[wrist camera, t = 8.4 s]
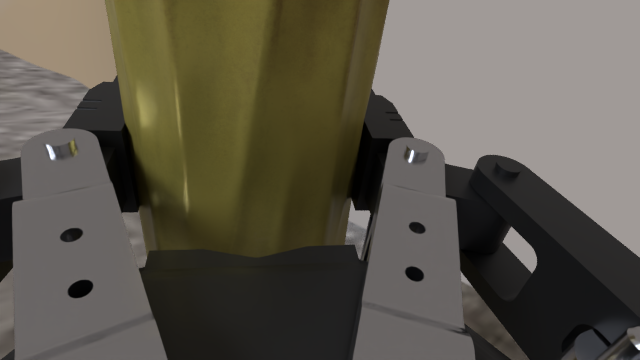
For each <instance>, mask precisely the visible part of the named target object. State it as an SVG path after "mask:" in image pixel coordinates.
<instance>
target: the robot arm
mask: <svg viewBox="0 0 640 360" xmlns="http://www.w3.org/2000/svg"><path fill="white" fill-rule="evenodd" d="M444 160H445V159H444V155H443V153H442V152H441V151H440V150H439V149H438V148H437V147H436V146H434V145H433V144H431V143H429V142H426V141H423V140H420V139H416V138H414V137H413V135H412V133H411V132H410V130H409V129H408V127H407V126H406V124H405V122H404V121H403V119H402V118H401V116H400V115H399V114H398V111H397V110H396V108H395V107H394V105H393V103H391V102H390V101H388V100H387V99H386V98H384V97H383V96H381V95H375V93H374V92H373V90H372V88H371V92H370V97H369V101H368V105H367V110H366V114H365V118H364V123H363V129H362V135H361V141H360V148H359V154H358V160H357V167H356V172H355V178H354V184H353V190H352V196H351V198H352V201H353V204H354V208H355V210H369V211H370V213H371V215H370V218H369V222H368V226H367V230H366V235H365V240H364V245H363V249H362V254H361V259H360V260H359V258H358V255H357V252H356V248H355V245H327V246H306V247H302V248H297V249H293V250H289V251H285V252H281V253H276V254H272V255H268V256H264V257H248V256H242V255H236V254H230V253H224V252H218V251H212V250H206V249H187V250H152V251H149V253H148V257H147V261H146V265H145V267H143V268H139V269H138V266H137V262H136V259H135V256H134V253H133V249H132V246H131V243H130V239H129V236H128V233H127V230H126V226H125V223H124V220H123V217H122V212H138V210H139V207H140V203H139V197H138V191H137V185H136V180H135V174H134V169H133V163H132V158H131V152H130V147H129V142H128V137H127V131H126V126H125V120H124V114H123V108H122V101H121V95H120V88H119V82H118V76H116V78H115V80H114V81H113V82H102V83H100V84H99V85H97V86H95V87H93V88H92V89H90V90H89V91H88V92H87V94H86V95H85V97H84V98H83V101H81V102H80V104H79V105H78V107H77V109H76V110H75V111H74V113H73V114H72V115H71V117H70V118H69V120H68V121H67V123H66V124H65V126H64V127H63V128H62V129H57V130H51V131H48V132H44V133H41V134H39V135H36V136H34V137H32V138H31V139H29V140H28V141H27V142H25V143H24V145H23V146H22V148H21V157H19V158H15V159H9V160H2V161H0V282H1V281H2V280H3V279H4V277H5V276H6V275H7V274H8V273H9V272H10V270H11V269H12V268H13V281H14V333H15V349H14V350H13V351H11V352H10V353H9V354H8V355H6V356H5V357H4V358H2V359H1V360H511V359H509V358H508V357H507V356H505V355H504V354H503V353H502V352H500V351H499V350H498V349H496V348H495V347H494V346H493V345H491V344H490V343H489V342H487V341H486V340H485V339H483V338H482V337H481V336H480V335H478V334H477V333H476V332H474V331H473V330H472V329H471V328H469V327H468V326H467V325H465V324H464V320H463V304H462V288H461V273H460V271H461V272H462V273H463V275H464V276H465V277H466V278H467V280H468V281H469V282H470V284H471V285H472V286H473V287H474V289H475V290H476V291H477V293H478V294H479V295H480V296H481V298H482V299H483V300H484V302H485V303H486V304H487V305H488V307H489V308H490V309H491V311H492V312H493V313H494V314H495V316H496V317H497V318H498V319H499V321H500V322H501V323H502V325H503V326H504V327H505V328H506V330H507V331H508V332H509V334H510V335H511V336H512V337H513V339H514V340H515V341H516V343H517V344H518V345H519V346H520V348H521V349H522V350H523V351H524V353H525V354H526V355H527V357H528V358H529V359H530V360H640V258H639V257H638V256H637V255H636V254H634V253H633V252H632V251H631V250H629V249H628V248H627V247H626V246H624V245H623V244H622V243H621V242H619V241H618V240H617V239H616V238H614V237H613V236H612V235H611V234H609V233H608V232H607V231H606V230H604V229H603V228H602V227H601V226H599V225H598V224H597V223H596V222H594V221H593V220H592V219H591V218H589V217H588V216H587V215H586V214H584V213H583V212H582V211H581V210H580V209H578V208H577V207H576V206H574V205H573V204H572V203H571V202H570V201H568V200H567V199H566V198H564V197H563V196H562V195H561V194H560V193H558V192H557V191H556V190H555V189H553V188H552V187H551V186H550V185H548V184H547V183H546V182H545V181H543V180H542V179H541V178H540V177H538V176H537V175H536V174H535V173H533V172H532V171H531V170H530V169H528V168H527V167H526V166H524V165H523V164H521V163H519V162H517V161H515V160H513V159H510V158H507V157H503V156H498V155H486V156H483V157H481V158H479V160H478V162H477V164H476V166H475V168H474V170H472V169H466V168H462V167H457V166H453V165H449V164H445V161H444ZM511 226H512V227H513V228H514V229H515V230H516V231H517V232H518V233H519V234H520V235H521V236H522V237H523V238H524V239H525V240H526V241H527V242H528V243H529V244H530V245H531V246H532V248H533V249H534V251H535V253H536V256H537V266H536V268H535V270H534V272H533V273H531V272H530V271H529V270H528V269H527V268H526V267H525V266H524V265H523V263H521V261H520V260H519V259H517V257H516V256H515V255H514V254H513V253H512V252H511V251H510V250H509V249H508V248H507V247H506V246H505V244H504V243H503V240H504V238H505V236H506V234H507V233H508V231H509V229H510V228H511Z"/></svg>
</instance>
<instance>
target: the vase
mask: <svg viewBox="0 0 640 360" xmlns="http://www.w3.org/2000/svg"><path fill="white" fill-rule="evenodd" d="M105 4H106V9H107V16H108V21H109V27H110V34H111V40H112V45H113V52H114V58H115V63H116V69H117V76H118V82H119V88H120V95H121V101H122V108H123V114H124V120H125V126H126V131H127V137H128V142H129V147H130V152H131V158H132V163H133V169H134V174H135V180H136V185H137V191H138V197H139V203H140V207H139V213H140V219H141V225H142V231H143V236H144V242H145V247H146V253H147V257H148V253H149V251H152V250H187V249H206V250H212V251H218V252H224V253H230V254H236V255H242V256H248V257H264V256H268V255H272V254H276V253H281V252H285V251H289V250H293V249H297V248H302V247H306V246H327V245H344V244H345V238H346V231H347V224H348V218H349V211H350V205H351V200H352V198H351V196H352V190H353V184H354V178H355V172H356V167H357V160H358V154H359V148H360V141H361V135H362V129H363V123H364V118H365V114H366V110H367V105H368V101H369V97H370V92H371V88H372V83H373V78H374V74H375V69H376V65H377V60H378V55H379V49H380V44H381V39H382V34H383V28H384V24H385V19H386V14H387V9H388V5H389V0H105Z"/></svg>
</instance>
